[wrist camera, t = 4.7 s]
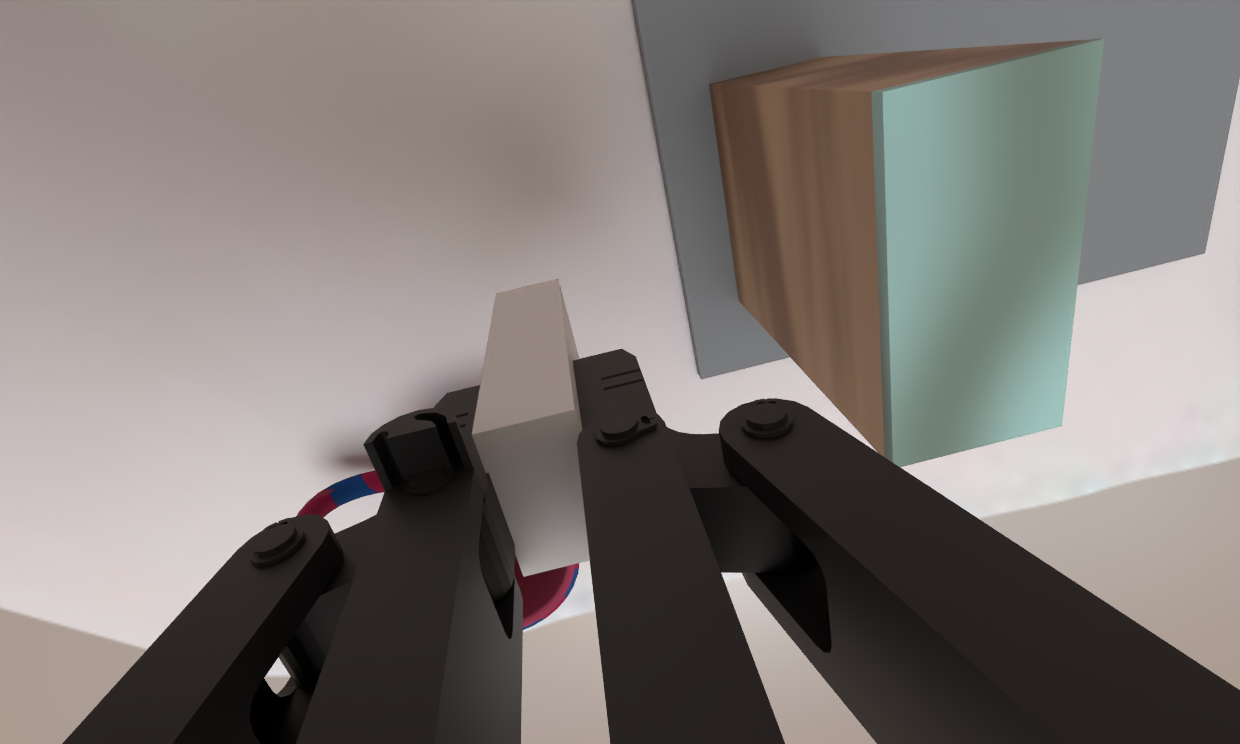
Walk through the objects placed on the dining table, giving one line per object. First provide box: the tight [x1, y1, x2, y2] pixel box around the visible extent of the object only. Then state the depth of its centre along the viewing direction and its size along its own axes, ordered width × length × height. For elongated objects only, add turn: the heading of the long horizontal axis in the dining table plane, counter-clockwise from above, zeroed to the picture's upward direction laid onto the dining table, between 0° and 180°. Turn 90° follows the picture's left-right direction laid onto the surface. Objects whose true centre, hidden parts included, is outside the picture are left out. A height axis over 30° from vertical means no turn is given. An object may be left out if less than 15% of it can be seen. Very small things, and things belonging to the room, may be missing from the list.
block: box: [709, 39, 1104, 467], centre depth 18 cm, size 4×8×12 cm, turn 12°
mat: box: [632, 0, 1240, 379], centre depth 24 cm, size 22×14×1 cm, turn 102°
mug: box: [296, 471, 579, 630], centre depth 24 cm, size 7×10×7 cm
